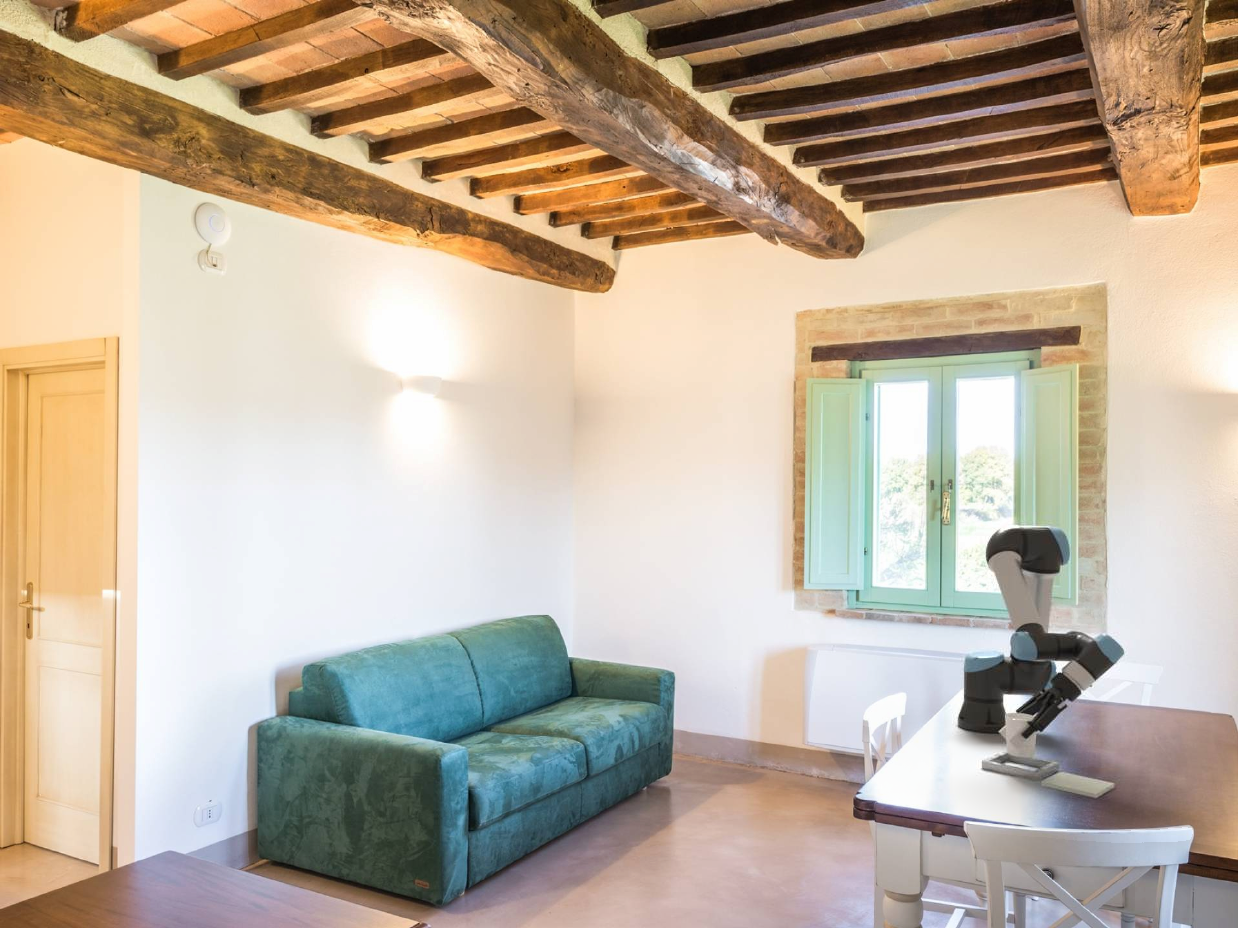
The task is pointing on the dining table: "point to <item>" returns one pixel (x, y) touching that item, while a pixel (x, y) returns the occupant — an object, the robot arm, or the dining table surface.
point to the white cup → (1012, 727)
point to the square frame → (1038, 774)
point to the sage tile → (1078, 784)
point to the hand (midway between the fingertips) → (1007, 739)
